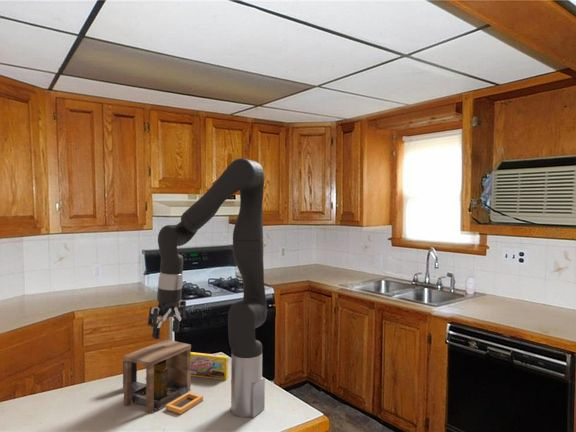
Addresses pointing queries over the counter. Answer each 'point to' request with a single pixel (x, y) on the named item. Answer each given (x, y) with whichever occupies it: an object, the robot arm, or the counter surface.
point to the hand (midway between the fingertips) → (166, 335)
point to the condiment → (160, 380)
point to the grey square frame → (141, 389)
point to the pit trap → (184, 403)
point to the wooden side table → (148, 356)
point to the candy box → (209, 366)
